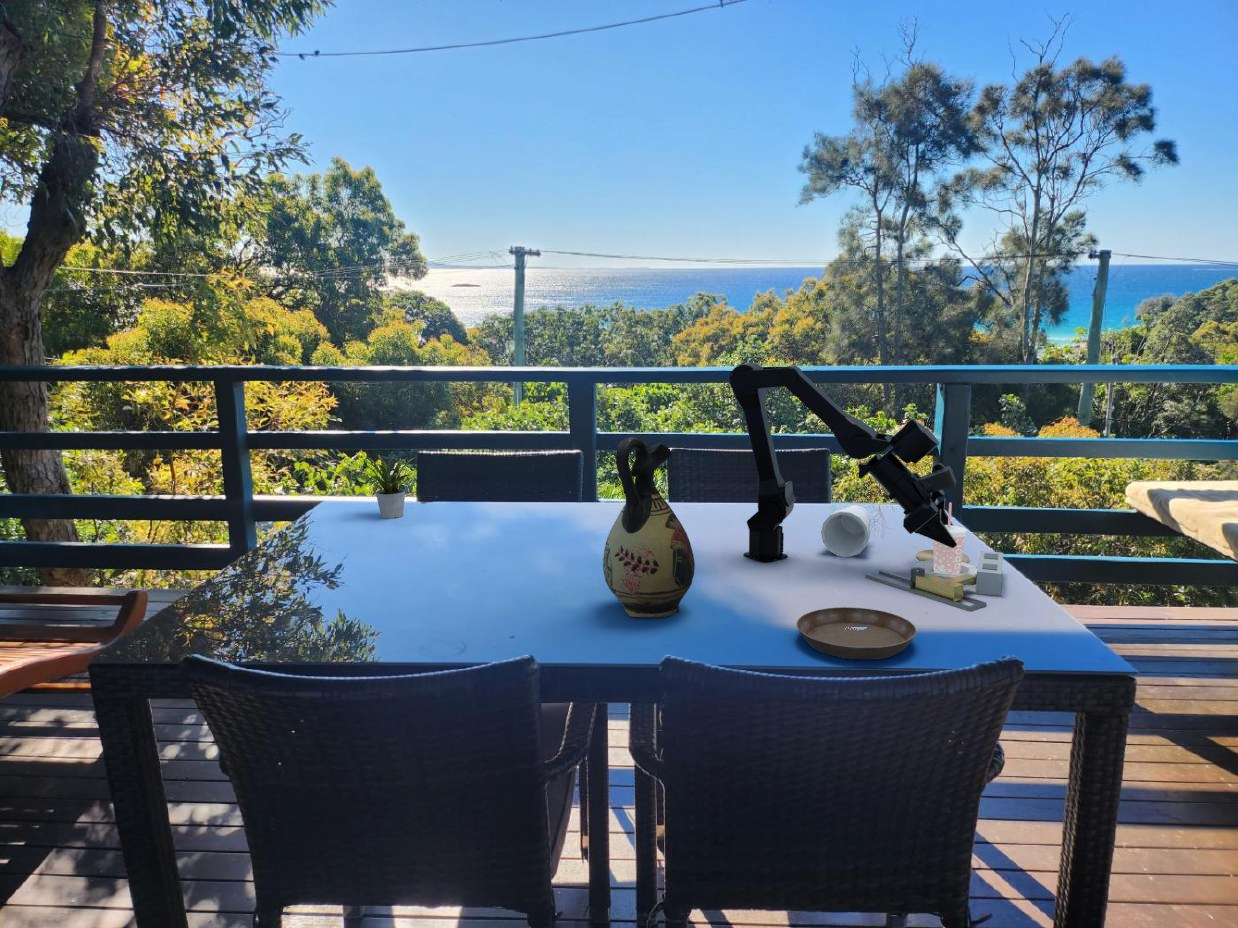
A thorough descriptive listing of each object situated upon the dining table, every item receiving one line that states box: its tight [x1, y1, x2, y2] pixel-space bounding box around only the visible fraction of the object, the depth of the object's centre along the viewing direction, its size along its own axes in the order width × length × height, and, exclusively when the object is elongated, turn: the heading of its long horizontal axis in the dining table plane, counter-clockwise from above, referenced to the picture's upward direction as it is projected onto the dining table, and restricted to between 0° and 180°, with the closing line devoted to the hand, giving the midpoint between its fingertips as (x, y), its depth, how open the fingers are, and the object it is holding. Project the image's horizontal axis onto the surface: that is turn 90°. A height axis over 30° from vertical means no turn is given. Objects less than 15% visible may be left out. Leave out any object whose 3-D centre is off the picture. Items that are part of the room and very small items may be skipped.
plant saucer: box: [796, 606, 917, 660], centre depth 138 cm, size 18×18×3 cm
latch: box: [909, 566, 977, 602], centre depth 160 cm, size 8×10×3 cm
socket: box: [915, 550, 1004, 597], centre depth 167 cm, size 15×14×4 cm
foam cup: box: [820, 504, 871, 558], centre depth 188 cm, size 10×9×13 cm
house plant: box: [360, 452, 417, 519], centre depth 221 cm, size 14×14×16 cm
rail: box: [864, 569, 987, 612], centre depth 161 cm, size 4×23×1 cm, turn 33°
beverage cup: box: [932, 502, 967, 575], centre depth 169 cm, size 6×6×14 cm
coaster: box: [915, 549, 970, 564], centre depth 181 cm, size 10×10×1 cm
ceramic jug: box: [602, 436, 696, 618], centre depth 151 cm, size 17×15×30 cm
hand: (956, 542), depth 168 cm, fingers closed on beverage cup, 6 cm apart
